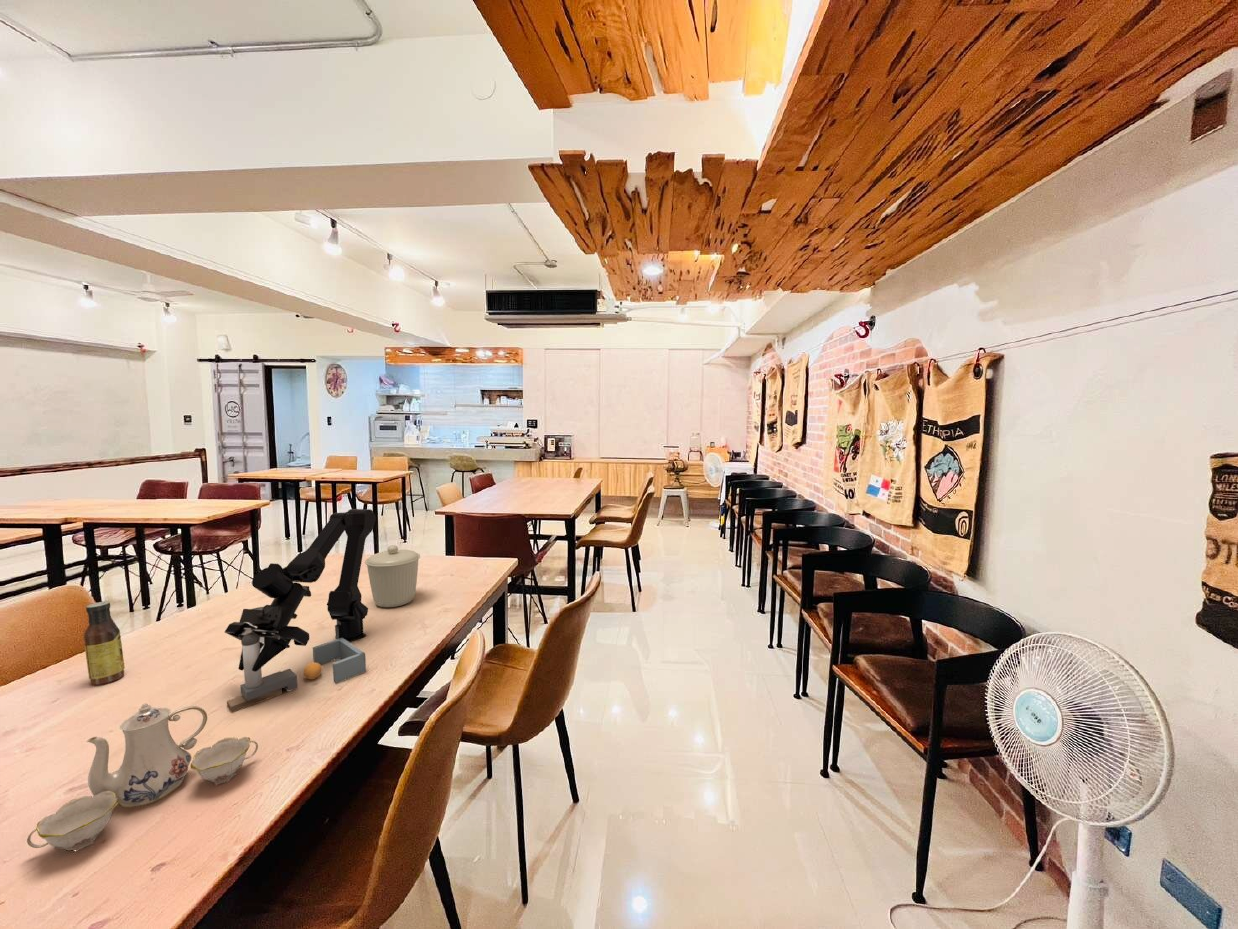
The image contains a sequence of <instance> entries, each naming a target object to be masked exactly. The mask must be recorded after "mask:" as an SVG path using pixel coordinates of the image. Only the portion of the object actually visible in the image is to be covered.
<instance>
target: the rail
mask: <svg viewBox="0 0 1238 929" xmlns="http://www.w3.org/2000/svg"><path fill="white" fill-rule="evenodd" d="M282 689H283V688H281V689H278V690H275V691H273V692H270V693H267V694H265V695H262V696H259V697H256V698H254V699H251V700H248V701H247V700H246V699H245V698H244V696H243V695H242V694H241V695H239V696H236V697H233V698H231V699H228V700H226V707H227V708H228V710H229V711H230V713H234V712H237V711H240V710H242V709H245V708H248V707H250V706H252V705H254V704H255V705H256V704H258V703H261V702H263V701H266V700H269V699H271V698H273V697H276V696H279V695H282V694H283V690H282Z"/></svg>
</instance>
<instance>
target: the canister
mask: <svg viewBox="0 0 1238 929" xmlns="http://www.w3.org/2000/svg"><path fill="white" fill-rule="evenodd" d="M420 558H421V554H420V553H418V552H416V551H414V550H411V549H399V547H398V545H395V544H394V545H389V546H388V547H387V549H386V550H383V551H381V552H378V553H374V554H372V555H370V556H369V557H368V558H366V559H365V560H364V564H365V566H366V568H367V573H368V579H369V584H370V589H371V595H372V598H373V602H374V603H375V604H376V606H378V607H380V608H396V607H402V606H404V605H407V604H409V603H410V602H412V601H413V599H414V598H415V596H416V591H417V582H418V569H419V559H420Z"/></svg>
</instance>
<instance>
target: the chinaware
mask: <svg viewBox="0 0 1238 929" xmlns="http://www.w3.org/2000/svg"><path fill="white" fill-rule="evenodd" d="M191 710H196V711H198V712H199V713H201V714H202V722H201V724H200V725H199V727H198V728H197V729H196V731H194V732H193V733H192V734H191V735H190V736H188V737H186V738H185V739H183V740H182V741H180V743H179V744H178V743H176V741H175V740H174V739H173V738H174V737H172V735H171V732H170V729H169V722H178V721H180V719H181V716H180V715H179V713H182V712H185V711H191ZM207 721H208V714H207V712H206V710H205V709H204V708H202V707H200V706H197V705H188V706H185V707H182V708H179V709H177V710H175V711H173V712H172V710H171V708H168V707H154V706H152V705H150V704H148V703H146V702H145V703H143V704H142V705H141V706H140V708H139V709H138V711H137V712H135V713H134V714H133V715H132V716H129V717H128V718H127V719H125V720H123V721H122V723H121V724H120V725H119V729H120V730H121V731H122V733H123V735H124V739H125V742H124V743H125V746H124V747H125V750H124V755H123V759H122V763H121V765H120V766H119V768H118V769H116V770H115V771H114V772H110V773H109V759H110V758H109V756H110V744H109V742H108V740H107V739H105V738H103V737H100V736H93V737H90V738H89V739H87V743H91V744H93V745H94V747H95V754H94V757H93V760H92V764H91V767H90V770H89V773H88V776H87V777H88V778H87V784H88V788H89V790H90V792H91V794H92V795H91V796H88V795H87V796H80V797H78V798H74V799H71V800H70V801H68V802H66V803H65V804H63V805H62V806H60V808H59V809H58V810H57V811H55V813H53V814H50V815H48V816H45V817H44V818H42V819H41V820H40V821H38V822H37V824H36V827H35V829H33V830H32V831H31V832H30V833H29V835H28V837H27V839H26V841H27V845H28V846H29V847H31V848H34V849H38V848H43V847H45V846H47V845H49V846H50V847H52V848H54V849H61V850H62V849H63V850H76V851H77V850H78V851H79V849H80V850H82V849H84V848H85V847H87V846H89V845H92V844H94V843H95V840H96V839H97V837H98V836H99V835H100V833H101V832H102V831H103V829H104V828H105V827H106V826H107V825H108V823H109V821H110V820H111V817H112V814H113V810H114V808H115V807H116V806H118V805H119V806H120V807H122V808H125V809H130V808H131V809H132V808H138V807H142V806H146V805H149V804H151V803H155V802H156V801H159V800H160V799H162V798H165V797H166V796H168V795H170V794H172V793H173V792H174V791H175V790H177V789H178V788H179V787H180V785H181V784H182V783H183V782H184V780H185V775H186V774H187V773H188V771H189V765H190V769H191V770H196V772H197V774H198V776H200V778H202V779H203V780H205V781H210V783H213V784H215V785H214V786H217V785H220V784H222V783H226V782H227V783H228V782H229V781H230V780H231V779H232V778H233V777H234V776H236V775H237V773H236V772H237V771H238V770H239V769H240V768H241V767H243V762H244V761H245V760H247V759H250V758H252V757H253V756H255V754H256V753H257V751H258V748H259V744H258V742H256V741H255V740H251V738H250V737H247V736H243V737H241V738H237V737H235V736H231V737H224V738H222V739H220V740H218V741H217V742H215V743H214V744H212V746H208V747H203V748H202V749H199V750H198V751H196V752H195V754H194V755H193V758H192V754H191V753H189V751H188V750H191V749H193V748H194V747H195V746H196V744H197V742H198V738H195V737H196V736H198V735H199V734H200V733H201V732H202V731H203V729H204V728H205V726H206V724H207ZM251 743H254V744H255V748H254V749H255V750H254V751H253V752H252V753H251V754H250V755H249V756H247V752H248V750H249V748H250V745H251ZM191 761H192V762H191ZM36 831H37V834H38V836H39V838H41V839H42V840H45V841H46V842H45V843H44V844H35V843H34V842H32V840H31V839H32V835H33V834H34V833H35V832H36ZM76 851H74V853H77V852H78V851H77V852H76Z"/></svg>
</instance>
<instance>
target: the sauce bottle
mask: <svg viewBox="0 0 1238 929" xmlns="http://www.w3.org/2000/svg"><path fill="white" fill-rule="evenodd" d="M85 609H86V610H85V611H86V613H87V616H88V626H87V628H86V630H85V631H84V632H83V639H84V652H85V659H86V667H87V674H88V680H89V681H90V685H93V686H100V685H106V684H110V683H112V682H115V681H117V680H119V679H121V678H122V677H123V676H125V659H124V652H123V643H122V637H121V630H120V629H119V626H118V625H117V624H116V622H115V621H114V619H113V618H112V616H111V611H110V610H111V603H110V601H99V602H94V603H91V604H88V605H86V606H85Z"/></svg>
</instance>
